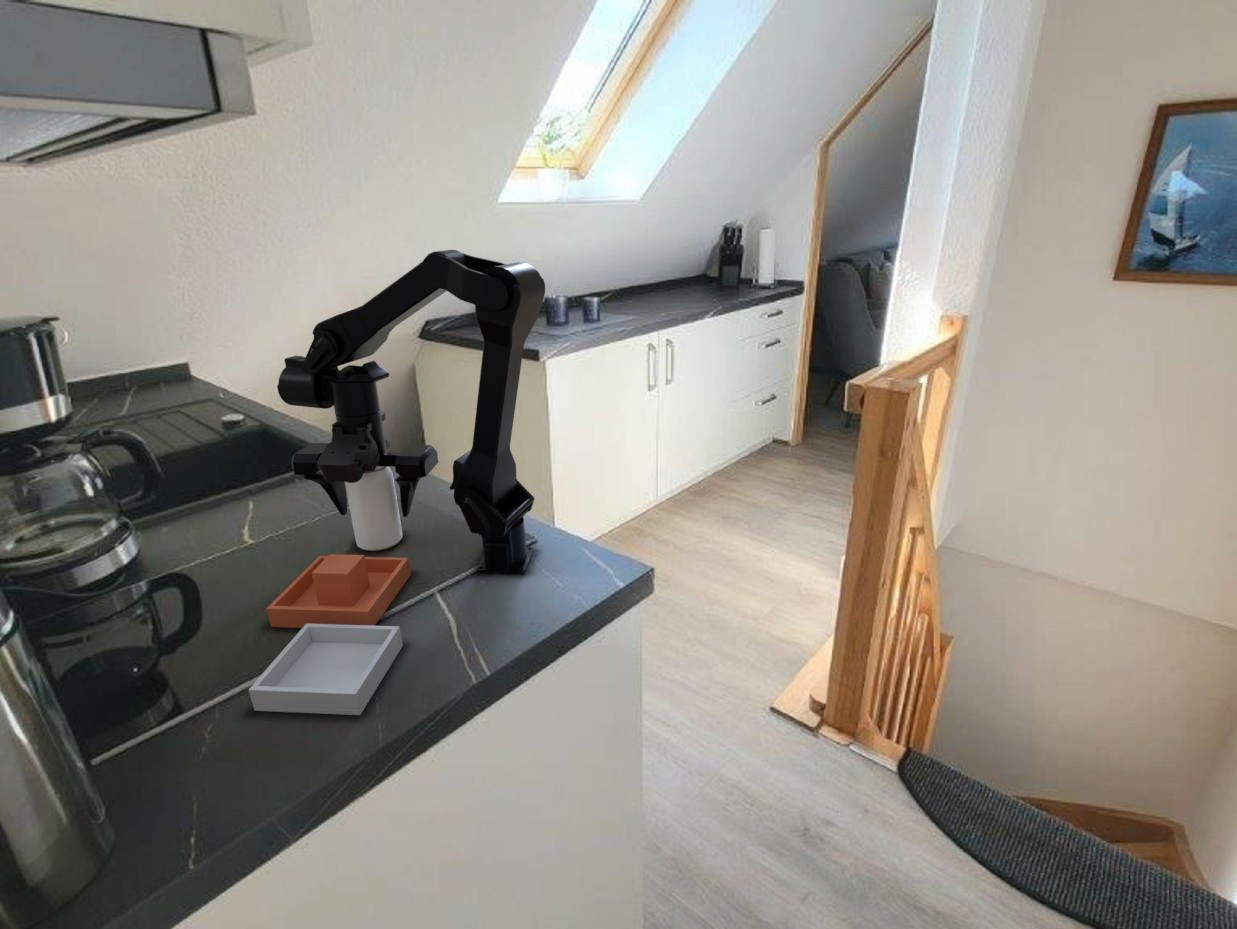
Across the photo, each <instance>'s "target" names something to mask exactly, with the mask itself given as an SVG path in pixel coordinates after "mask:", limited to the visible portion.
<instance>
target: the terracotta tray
mask: <svg viewBox="0 0 1237 929" xmlns="http://www.w3.org/2000/svg"><path fill="white" fill-rule="evenodd" d="M328 556H329V555H319V556H317V558H315V560H314V561H313V562H311V563H310V564H309V566H307V567H306V568H305V569H304V570H303V571H302V572H301V573H300V574H299V576H298V577H296V579H294V580H293V581H292V582H291V583H290V584H289V585H288V586H287V587H286V588H285V589H284V590H283V591H282V592H281V593H280V594H279V595H278V596H277V597H276V598H275V599H274V600H273V601H272V602H271V603H270V604H268V606H267V607H266V612H267V616H268V621H269V624H270V627H271V628H287V629H288V628H289V629H290V628H292V629H302V628H303V627H304V626H305V625H306V624H339V625H370V626H377V623H378V622H379V621H380V619H381V618H382V616H383V615H384V614H385V612H386V611H387V609H388V608H389V607H390V605H391V604H392V602H393V601H394V600H395V598H396V597H397V595H398V594H399V592H400V591H401V589H402V588H403V587H404V585H405V584H406V582H408V580H409V578H410V577H411V576H412V573H411V572H412V571H411V566H410V561H409V557H389V556H385V557H384V556H364V557H365V563H366V568H367V573H368V579H369V584H370V586H369V587H368V589H367V590H366V591H365V592H364V594H363V595H362V596H361V597H360V599H359V600H358V601H357V602H356V604H355V605H354V606H346V605H319V604H318V600H317V595H316V591H315V586H314V582H313V577H312V572H313V571H314V570H315V569H316V568H317V567H318V566H319V565H320V564H321V563H322V562H323V561H324V560H325V559H326V558H327V557H328Z"/></svg>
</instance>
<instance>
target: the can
mask: <svg viewBox="0 0 1237 929" xmlns="http://www.w3.org/2000/svg"><path fill="white" fill-rule="evenodd" d="M345 487H346V496H347V505H348V508H349V513H350V518H351V524H352V529H353V534H354V539H355V542H356V543H355V544H356V546H357V547H358V548H360V550H363V551H364V552H365V551H366V552H381V551H385V550H388V549H391V548H393V547H395V546H397V545H398V544H399V543H400V542H401V540H402V539H403V528H402V523H401V522H402V521H401V515H400V510H399V503H398V498H397V491H396V485H395V479H394V473H393V471H392V469H391V468H390V466H377V467H376V469H375V470H374V471H365V472H364V473H363V476H362V478H361V479H360V480H359V481H358V482H355V483H348V482H345Z"/></svg>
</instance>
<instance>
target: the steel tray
mask: <svg viewBox="0 0 1237 929" xmlns="http://www.w3.org/2000/svg"><path fill="white" fill-rule="evenodd" d="M403 646H404V644H403V638H402V633H401V627H400V626H399V625H397V626H395V625H375V626H370V625H339V624H306V625H305V626H304V627H303V628H300V630H299V631H298V632H297V634H295V636H294V637H293V638H292V639H291V640H290V642H289V643H287V645H286V646H285V647H284V648H283V650H282V651H281V652H280V653H279V654H278V655H277V656H276V658H274V659H273V661H272V662H271V663H270V665H268V667H267V668H266V669H265V670H264V671H263V672H262V673H261V675H260V676H259V677H258V678H257V679H256V680H255V681H254V683H252V685H251V686H250V687H249V688H248V693H249V697H250V700H251V704H252V707H253V710H254V711H255V712H270V713H271V712H274V713H297V714H298V713H299V714H319V715H320V714H321V715H322V714H323V715H341V716H343V715H344V716H361V715H362V713H363V711H364V710H365V708H366V707H367V705H368V703H369V702H370V700H371V698H372V696H373V695H374V694H375V692H376V691H377V689H378V687H379V685H380V684H381V682H382V680H384V678H385V677H386V674H387V672H388V671H389V669H390V668H391V666H392V664H393V663H394V661H395V660H396V658H397V656H398V654H399V653H400V651H401V649H402V648H403Z"/></svg>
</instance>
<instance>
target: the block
mask: <svg viewBox="0 0 1237 929" xmlns="http://www.w3.org/2000/svg"><path fill="white" fill-rule="evenodd" d="M327 556H328V557H327V558H326V559H325V560H324V561H323V562H322V563H321V564H320V565H319V566H318V567H317V568H316V569H315V570H314V571H313V572H312V577H313V582H314V586H315V591H316V595H317V600H318V604H319V605H346V606H354V605H355V604H356V602H357V601H358V600H359V599H360V597H361V596H362V595H363V594H364V592H365V591H366V590H367V589H368V587H369V586H370V584H369V579H368V573H367V568H366V563H365V557H366V556H365V555H364V554H335V553H334V554H332V553H329V555H327Z"/></svg>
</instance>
